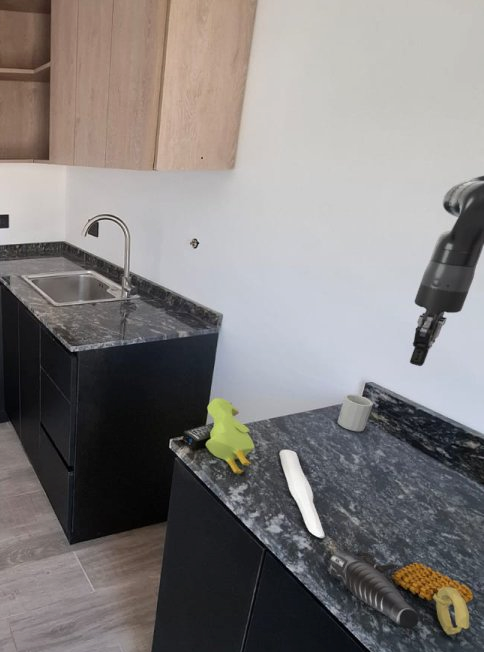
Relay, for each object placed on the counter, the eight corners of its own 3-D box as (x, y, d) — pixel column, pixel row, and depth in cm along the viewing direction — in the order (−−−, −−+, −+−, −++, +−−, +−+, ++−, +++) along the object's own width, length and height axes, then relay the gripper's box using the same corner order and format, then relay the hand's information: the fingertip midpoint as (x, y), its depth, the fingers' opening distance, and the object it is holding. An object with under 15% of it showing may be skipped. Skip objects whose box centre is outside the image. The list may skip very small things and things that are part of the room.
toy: (286, 463, 104) (240, 396, 119) (229, 457, 98) (188, 386, 113) (267, 480, 107) (225, 412, 122) (212, 474, 101) (174, 404, 116)
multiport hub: (228, 438, 116) (230, 430, 115) (195, 449, 111) (196, 441, 110) (214, 429, 119) (216, 421, 118) (181, 439, 115) (183, 431, 114)
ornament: (451, 591, 79) (507, 661, 65) (377, 576, 82) (415, 640, 68) (457, 553, 78) (515, 617, 64) (383, 540, 82) (422, 597, 67)
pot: (357, 420, 127) (365, 395, 124) (368, 432, 121) (377, 407, 118) (333, 417, 127) (341, 392, 125) (343, 430, 122) (351, 404, 119)
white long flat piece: (329, 540, 86) (330, 528, 85) (303, 537, 87) (304, 525, 86) (296, 455, 111) (297, 446, 110) (276, 453, 112) (276, 444, 112)
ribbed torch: (409, 638, 70) (413, 628, 68) (319, 576, 79) (320, 566, 78) (435, 594, 73) (440, 584, 71) (345, 539, 83) (347, 529, 81)
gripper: (463, 295, 88) (431, 379, 94) (474, 284, 96) (444, 362, 102) (413, 285, 93) (386, 365, 99) (428, 276, 101) (402, 350, 107)
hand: (416, 363), depth 100 cm, fingers closed
